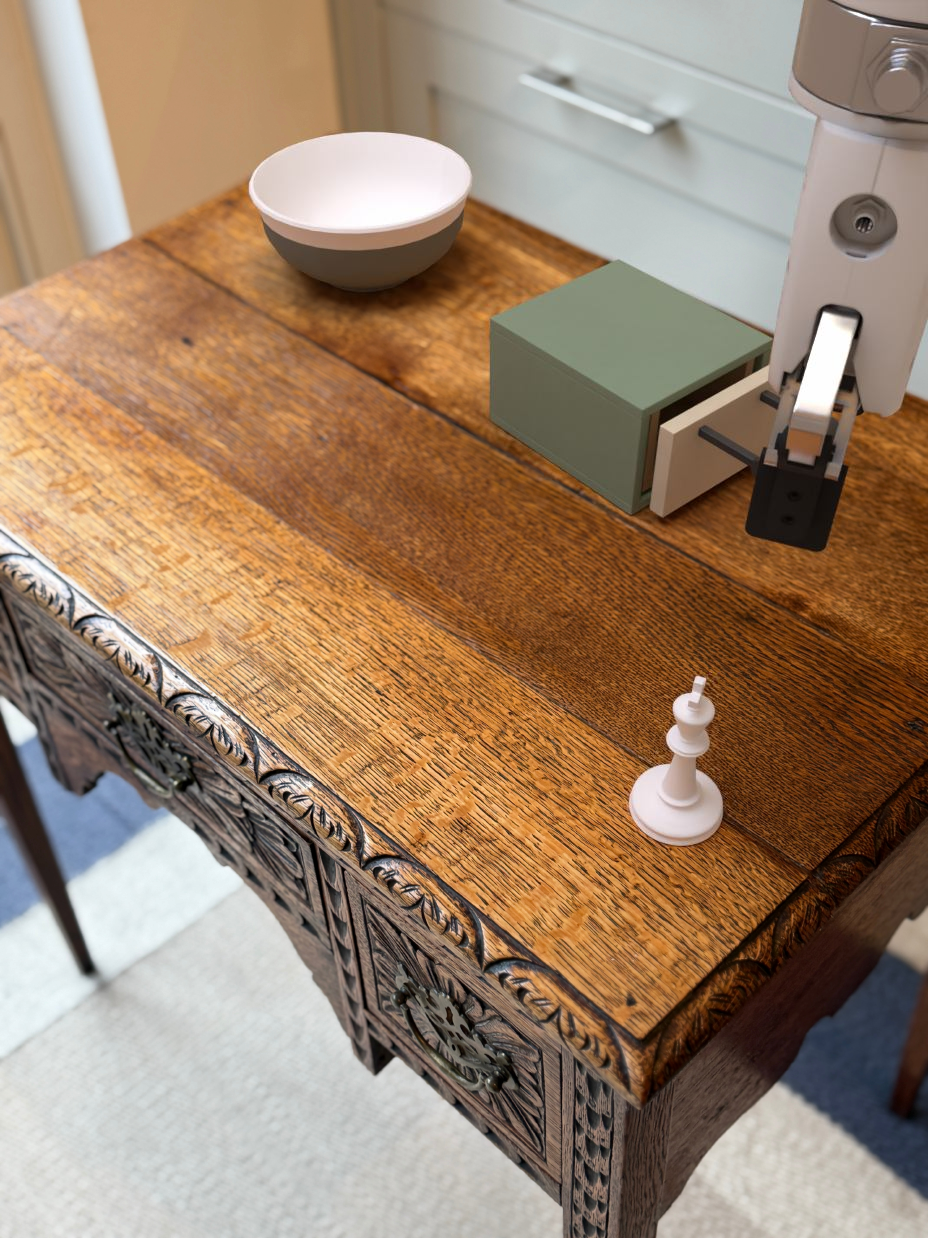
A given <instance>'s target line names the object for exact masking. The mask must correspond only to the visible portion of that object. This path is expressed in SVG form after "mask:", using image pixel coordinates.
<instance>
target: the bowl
mask: <svg viewBox="0 0 928 1238" xmlns="http://www.w3.org/2000/svg"><path fill="white" fill-rule="evenodd" d="M473 180H474V176H473V174H472V170H471V168H470V166H469V165H468V163H467V162H466V160H465V159H464V158H463V157H462V156H461V155H460V154H458V152H456V151H454V150H453V149H451V148H449V147H447V146H446V145H443V144H441V143H439V142H437V141H433V140H431V139H427V138H423V137H420V136H415V135H409V134H404V133H395V132H387V131H386V132H385V131H362V132H361V131H359V132H357V131H356V132H343V133H337V134H330V135H323V136H320V137H319V136H318V137H315V138H311V139H307V140H304V141H300V142H298V143H297V142H296V143H295V144H292V145H289V146H287V147H285V148H283V149H280V150H279V151H277V152H274V153H273V154H272V155H270V156H269V157H268V158H265V160H263V161H262V162H261V163H260V164H259V165H258V166H257V167H256V169H255V170H254V171H253V173H252V175H251V177H250V180H249V182H248V195H249V197H250V199H251V201H252V203H253V205H254V206H255V207H256V209H257V210H258V212H259V214H260V218H261V222H262V226H263V230H264V233H265V235H266V237H267V239H268V242H269V243H270V244H271V246H273V248H274V249H275V251H276V252H277V253H278V255H279V256H280V257H281V258H282V259H283V260H284V261H285V262H286V263H287V264H289V265H290V266H292V267H294V268H295V269H297V270H298V271H300V272H301V273H303V274H305V275H306V276H308V277H310V278H312V279H315V280H317V281H320V282H324V283H326V284H329V285H330V286H332V287H334V288H337V289H340V290H344V291H348V292H354V293H355V292H356V293H370V292H379V291H385V290H389V289H391V288H395V287H397V286H400V285H402V284H403V283H405V282H407V281H409V279H410V278H412V277H415V276H417V275H420V274H421V273H423V272H424V271H426V270H427V269H429V268H430V267H432V266H433V265H434V264H435V263H437V262H438V261H439V260H441V258H443V257H444V256H445V255H446V254H447V253H448V252H449V251H450V249H451V247H452V245H453V243H454V242H455V240H456V238H457V236H458V234H459V233H460V231H461V229H462V227H463V222H464V214H465V205H466V202H467V198H468V196H469V194H470V191H471V189H472V188H473Z"/></svg>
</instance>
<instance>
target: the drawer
mask: <svg viewBox="0 0 928 1238" xmlns="http://www.w3.org/2000/svg"><path fill="white" fill-rule="evenodd" d="M754 360H755V358H753V359H752V360H750V361H748V362H746V363H744V364H742V365H741V366H739V367H737V368H735V369H733V370H732V371H730V372H728V373H726V374H724V375H722V376H721V377H719V378H717V379H715V380H713V381H712V382H710V383H708V384H706V385H704V386H702V387H701V388H699V389H697V390H695V391H693V392H692V393H690V394H688V395H686V396H684V397H682V398H681V399H679V400H677V401H675V402H673V403H672V404H670V405H668V406H666V407H664V408H662V409H661V410H659V411H657V412H655V413H653V414H652V415H650V420H649V429H648V437H647V446H646V454H645V463H644V471H643V480H642V488H641V491H642V492H643V491H645V490H647V489H649V488H650V487H652V494H651V502H650V505H649V510H650V511H652V512H653V513H655V514H656V515H657V516H659V517H660V518H661V519H662V518H664V517H667V516H668V515H670V514H672V513H673V512H674V511H676V510H678V509H679V508H681V507H683V506H684V505H686V504H687V503H689V502H691V501H693V500H694V499H696V498H697V497H699V496H701V495H702V494H705V492H707V491H709V490H710V489H712V488H713V487H715V486H717V485H719V484H720V483H722V482H724V481H725V480H727V479H728V478H730V477H731V476H733V475H735V474H737V473H738V472H740V471H742V470H743V469H745V468H746V467H750V472H751V475H752V476H753V478H754V479H755V478H756V474H757V469H758V465H759V460H760V455H761V452H762V450H763V447H768V443H769V439H770V436H771V432H772V429H773V425H774V421H775V418H776V414H777V410H778V407H779V403H780V400H781V396H782V392H783V390H782V392H781V394H780V395H779V394H777V393H776V392H775V391H774V389H773V388H772V387H771V385H770V383H769V381H768V373H769V365H770V364H768V366H766V367H764V368H762V369H761V370H759V371H757V372H755V373H753V374H752V370H753V365H754ZM838 424H839V420H838V419H836V418H835V417H833V416H831V419H830V423H829V427H828V431H827V434H828V435H832V436H833V438H832V440H833V441H834V438H835V435H836V431H837V428H838Z"/></svg>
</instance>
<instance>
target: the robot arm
mask: <svg viewBox="0 0 928 1238" xmlns="http://www.w3.org/2000/svg"><path fill="white" fill-rule="evenodd" d="M800 14H801V15H800V19H799V24H798V29H797V34H796V35H797V36H796V40H795V44H794V50H793V56H792V62H791V66H790V71H789V75H788V83H787V84H788V91H789V92H790V95H791V97H792V98H793V99H794V101H795V102H796V103H797V104H798V105H799V106H800V107H801V108H803V109H804V110H805V111H807V112H809V113H810V114H812V115H814V116H815V117H816V119H815V124H814V129H813V134H812V137H811V142H810V147H809V152H808V157H807V160H806V166H805V169H804V175H803V180H802V185H801V190H800V194H799V199H798V204H797V209H796V215H795V219H794V224H793V229H792V233H791V238H790V243H789V248H788V255H787V261H786V265H785V271H784V276H783V281H782V286H781V292H780V299H779V304H778V309H777V316H776V320H775V321H776V322H775V327H774V334H773V344H772V348H771V354H770V359H769V364H768V365H769V373H768V381H769V383H770V385H771V387H772V388H773V389H774V391H775V392H776V393H777V394H779V395H780V394H781V392H782V390H783V392H782V396H781V400H780V403H779V407H778V410H777V414H776V418H775V421H774V425H773V429H772V432H771V436H770V439H769V443H768V447H763V450H762V452H761V455H760V460H759V465H758V469H757V474H756V478H755V477H754V482H753V488H752V493H751V498H750V500H749V501H750V502H749V506H748V511H747V516H746V521H745V525H744V531H745V532H746V534H747V535H749V536H750V537H754V538H757V539H760V540H765V541H770V542H774V543H778V544H782V545H786V546H790V547H793V548H798V549H802V550H805V551H810V552H813V553H820V552H822V551H824V550H826V547H827V544H828V541H829V537H830V535H831V530H832V528H833V523H834V520H835V516H836V513H837V509H838V507H839V502H840V499H841V495H842V492H843V489H844V485H845V482H846V478H847V474H848V471H849V468H850V466H849V465H846V464H843V463H844V459H845V457H846V452H847V449H848V445H849V442H850V438H851V435H852V431H853V429H854V425H855V422H856V418H857V417H859V416H861V415H863V414H864V413H865V412H866V413H873V414H878V415H879V417H880V418H887V417H890V416H892V415H893V414H895V413H897V412H898V411H899V410H900V409H901V407H902V405H903V401H904V398H905V394H906V392H907V391H906V390H907V387H908V384H909V381H910V378H911V375H912V372H913V368H914V365H915V361H916V359H917V354H918V352H919V348H920V345H921V341H922V339H923V335H924V332H925V329H926V325H927V322H928V0H803V3H802V8H801V13H800ZM833 412H835V413H838V414H840V416H839V420H838V422H839V424H838V428H837V431H836V435H835V438H834V440H832V438H833V436H832V435H828V434H827V431H828V427H829V423H830V419H831V417H832V414H833Z"/></svg>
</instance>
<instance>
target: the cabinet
mask: <svg viewBox="0 0 928 1238" xmlns="http://www.w3.org/2000/svg"><path fill="white" fill-rule="evenodd" d="M773 340H774V337H770V336H769V335H767V334H765V333H763V332H761V331H760V330H757V329H755V328H753V327H751V326H749V325H748V324H746V323H744V322H741V321H740V320H737V319H736V318H734V317H732V316H730V315H728V314H726V313H724V312H722V311H720V310H718V309H717V308H715V307H712V306H710V305H709V304H707V303H705V302H703V301H701V300H699V299H697V298H695V297H693V296H691V295H689V294H687V293H686V292H683V291H681V290H679V289H677V288H675V287H673V286H672V285H670V284H668V283H666V282H664V281H662V280H660V279H658V278H656V277H654V276H652V275H650V274H649V273H646V272H644V271H642V270H640V269H639V268H637V267H634V266H633V265H631V264H629V263H627V262H625V261H623V260H621V259H616V260H614V261H611V262H609V263H607V264H605V265H603V266H600V267H598V268H596V269H594V270H592V271H589V272H587V273H585V274H583V275H580V276H578V277H576V278H574V279H571V280H570V281H568V282H565V283H563V284H561V285H559V286H556V287H553V288H552V289H550V290H547V291H545V292H544V293H541V294H539V295H537V296H535V297H533V298H531V299H528V300H526V301H524V302H522V303H520V304H519V303H518V304H517V305H515V306H513V307H510V308H509V309H506V310H504V311H502V312H500V313H497V314H495V315H493V316H491V317H490V318H489V421H490V422H491V423H493V424H495V425H496V426H497V427H499V428H500V429H502V431H503V430H504V431H505V432H506V433H508V434H509V435H511V437H514V438H515V439H517V440H518V441H520V442H521V443H522V444H524V445H526V446H527V447H528V448H530V450H531V449H532V450H533V451H534V452H536V453H537V454H539V455H540V456H542V457H543V458H545V459H546V460H547V461H549V462H551V463H552V464H554V465H555V466H556V467H558V468H559V469H561V470H563V471H564V472H566V473H567V474H568V475H570V476H572V477H573V478H575V479H576V480H577V481H578V482H580V483H582V484H583V485H585V486H586V487H588V488H589V489H591V490H592V491H593V492H595V493H596V494H598V495H599V496H601V497H603V499H605V500H607V501H608V502H610V503H611V504H613V505H614V506H615V507H617V508H619V509H620V510H622V511H623V512H625V513H626V514H628V515H629V516H633V515H635V514H636V513H638V512H640V511H641V510H643V509H644V508H647V507H648V506H650V502H651V494H652V487H650V488H649V489H647V490H645V491H643V492H642V491H641V488H642V480H643V471H644V463H645V454H646V446H647V437H648V429H649V420H650V415H652V414H653V413H655V412H657V411H659V410H661V409H662V408H664V407H666V406H668V405H670V404H672V403H673V402H675V401H677V400H679V399H681V398H682V397H684V396H686V395H688V394H690V393H692V392H693V391H695V390H697V389H699V388H701V387H702V386H704V385H706V384H708V383H710V382H712V381H713V380H715V379H717V378H719V377H721V376H722V375H724V374H726V373H728V372H730V371H732V370H733V369H735V368H737V367H739V366H741V365H742V364H744V363H746V362H748V361H750V360H752V359H753V358H755V360H754V365H753V370H752V374H753V373H755V372H757V371H759V370H761V369H762V368H764V367H766V366H768V365H770V358H771V352H772V346H773Z"/></svg>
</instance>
